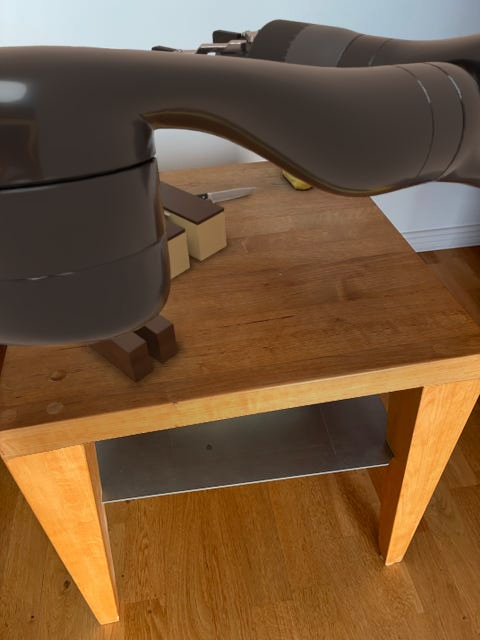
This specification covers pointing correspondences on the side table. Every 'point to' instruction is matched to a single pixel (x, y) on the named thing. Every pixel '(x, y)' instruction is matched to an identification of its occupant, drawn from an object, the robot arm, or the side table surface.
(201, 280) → the side table surface
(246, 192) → the knife
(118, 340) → the knife block
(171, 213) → the cake
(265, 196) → the side table surface
